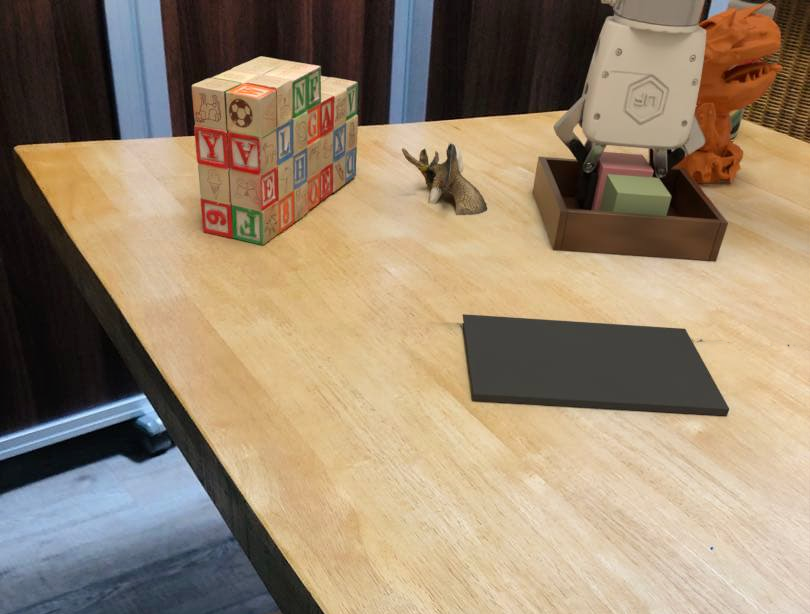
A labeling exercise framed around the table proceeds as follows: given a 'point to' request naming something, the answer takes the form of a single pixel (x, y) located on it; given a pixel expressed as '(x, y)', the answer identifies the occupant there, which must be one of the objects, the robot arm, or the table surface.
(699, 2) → the robot arm
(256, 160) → the stack of blocks
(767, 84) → the toy dinosaur
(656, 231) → the crate
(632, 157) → the pink block
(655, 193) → the green block
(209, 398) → the table surface
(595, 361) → the mat
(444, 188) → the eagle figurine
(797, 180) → the table surface
